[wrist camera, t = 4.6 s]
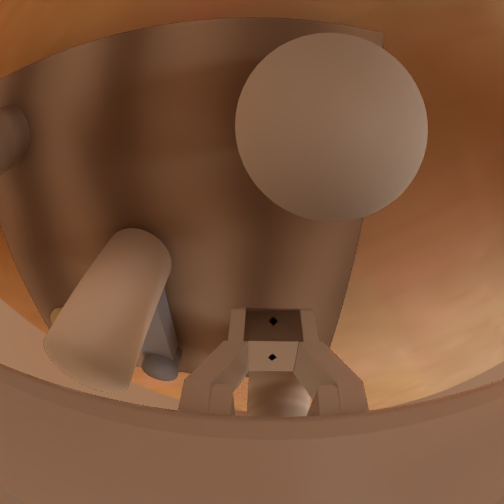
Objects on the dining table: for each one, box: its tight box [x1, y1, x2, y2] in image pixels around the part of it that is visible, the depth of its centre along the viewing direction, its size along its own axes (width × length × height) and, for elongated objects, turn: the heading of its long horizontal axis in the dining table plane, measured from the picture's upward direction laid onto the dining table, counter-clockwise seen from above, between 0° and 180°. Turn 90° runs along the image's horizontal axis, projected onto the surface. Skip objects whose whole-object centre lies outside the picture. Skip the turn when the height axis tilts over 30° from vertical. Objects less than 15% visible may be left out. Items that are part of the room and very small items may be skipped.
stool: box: [0, 17, 428, 417], centre depth 13 cm, size 22×22×10 cm
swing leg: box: [43, 228, 182, 393], centre depth 14 cm, size 10×4×7 cm, turn 0°
